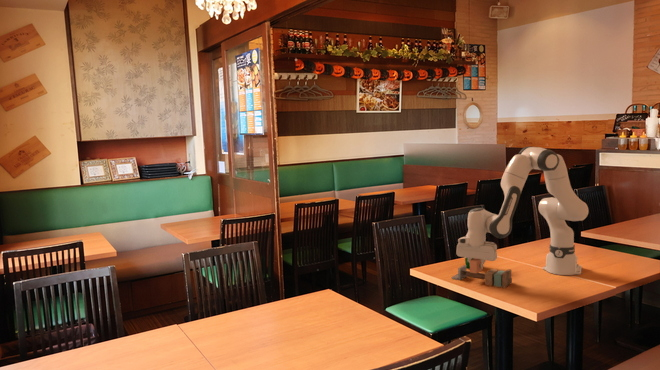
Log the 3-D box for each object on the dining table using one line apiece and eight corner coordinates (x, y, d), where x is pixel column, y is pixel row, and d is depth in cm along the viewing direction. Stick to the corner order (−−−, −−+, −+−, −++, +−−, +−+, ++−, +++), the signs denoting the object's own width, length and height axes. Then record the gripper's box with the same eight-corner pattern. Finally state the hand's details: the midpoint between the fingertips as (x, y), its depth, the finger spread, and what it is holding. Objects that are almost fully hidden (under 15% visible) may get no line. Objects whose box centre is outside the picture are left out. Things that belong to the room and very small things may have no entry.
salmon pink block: (476, 268, 261) (476, 257, 261) (482, 269, 259) (482, 258, 258) (469, 272, 255) (469, 260, 254) (476, 273, 253) (476, 261, 252)
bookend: (457, 275, 268) (457, 264, 267) (466, 276, 265) (466, 265, 264) (451, 278, 262) (451, 267, 261) (460, 280, 259) (460, 268, 258)
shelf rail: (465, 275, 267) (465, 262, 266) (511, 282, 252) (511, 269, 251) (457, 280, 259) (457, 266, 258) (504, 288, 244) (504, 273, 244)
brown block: (491, 280, 257) (491, 269, 256) (497, 281, 255) (497, 270, 254) (484, 284, 251) (485, 272, 250) (491, 285, 249) (491, 273, 248)
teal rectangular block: (500, 282, 254) (500, 270, 254) (507, 283, 252) (507, 271, 251) (494, 286, 248) (494, 274, 247) (501, 287, 246) (501, 275, 245)
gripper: (499, 241, 251) (498, 268, 253) (460, 236, 264) (460, 262, 265) (494, 243, 246) (494, 271, 248) (455, 239, 259) (455, 265, 261)
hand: (476, 267), depth 257 cm, fingers closed on salmon pink block, 3 cm apart
